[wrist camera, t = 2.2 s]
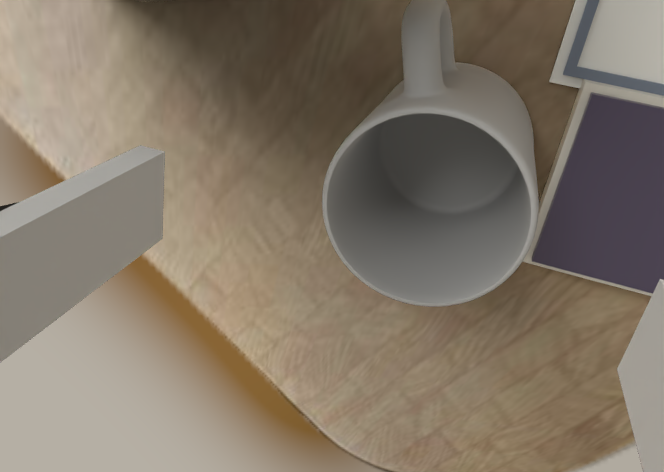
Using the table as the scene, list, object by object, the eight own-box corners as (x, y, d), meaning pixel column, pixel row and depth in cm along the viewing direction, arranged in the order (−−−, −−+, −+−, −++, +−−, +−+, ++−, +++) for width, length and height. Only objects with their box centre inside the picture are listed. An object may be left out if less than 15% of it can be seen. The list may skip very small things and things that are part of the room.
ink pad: (521, 252, 34) (522, 265, 32) (583, 78, 29) (586, 83, 28) (707, 301, 32) (716, 317, 30) (802, 123, 27) (819, 132, 26)
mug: (534, 211, 33) (542, 312, 23) (383, 215, 35) (334, 308, 26) (531, -24, 28) (539, -20, 19) (358, 2, 31) (287, 17, 21)
